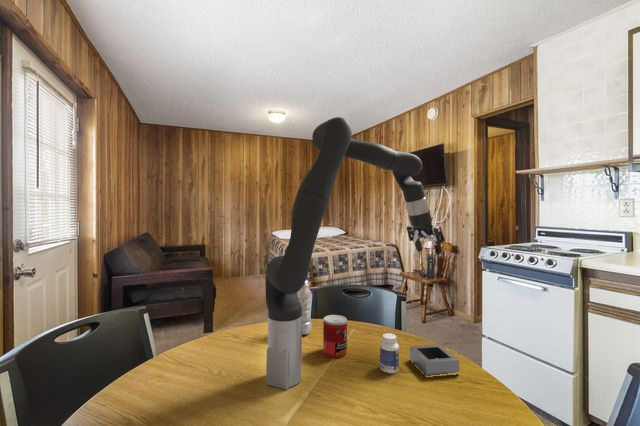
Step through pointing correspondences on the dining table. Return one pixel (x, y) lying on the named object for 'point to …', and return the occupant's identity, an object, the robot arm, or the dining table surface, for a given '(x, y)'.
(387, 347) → the pill bottle
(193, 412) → the dining table surface
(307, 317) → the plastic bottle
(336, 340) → the canned food
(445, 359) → the socket cup
